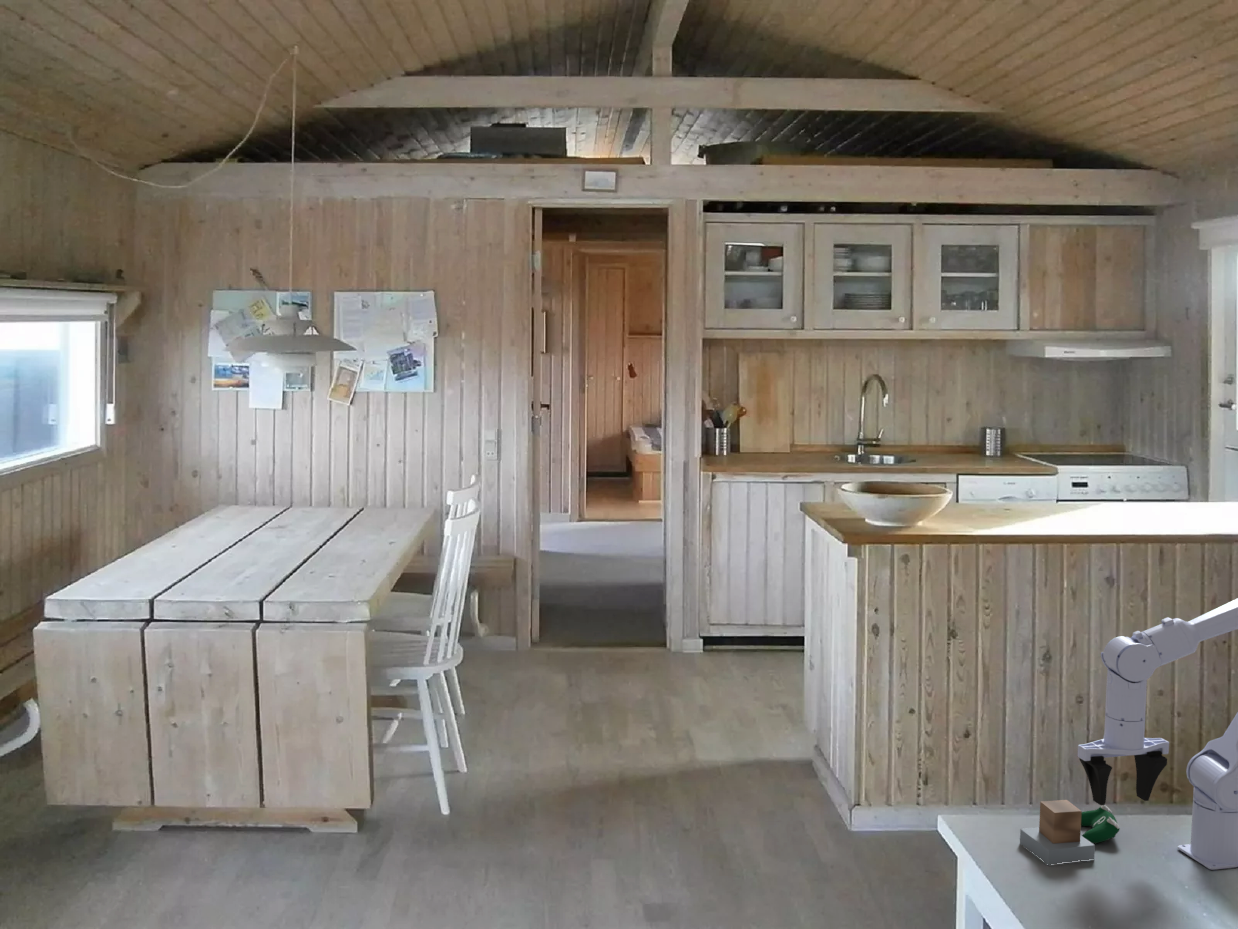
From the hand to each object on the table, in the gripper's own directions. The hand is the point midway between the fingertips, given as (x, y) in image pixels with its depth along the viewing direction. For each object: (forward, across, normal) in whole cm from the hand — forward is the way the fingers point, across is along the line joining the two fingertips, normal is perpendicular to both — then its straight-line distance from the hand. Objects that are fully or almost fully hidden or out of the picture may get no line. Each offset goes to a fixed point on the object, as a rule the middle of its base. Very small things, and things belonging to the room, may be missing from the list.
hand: (1120, 800), depth 187 cm
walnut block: (+7, +8, -4) cm, 11 cm away
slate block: (+10, +8, -4) cm, 13 cm away
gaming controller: (+10, -2, -9) cm, 13 cm away
